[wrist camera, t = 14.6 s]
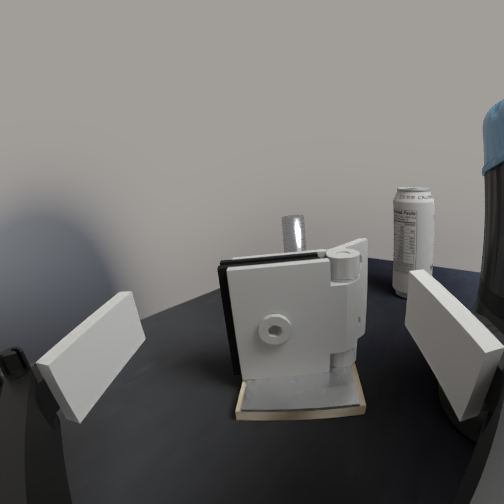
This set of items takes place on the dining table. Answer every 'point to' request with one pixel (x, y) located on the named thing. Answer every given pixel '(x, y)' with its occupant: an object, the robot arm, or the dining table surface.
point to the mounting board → (302, 414)
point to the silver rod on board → (304, 386)
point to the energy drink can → (412, 235)
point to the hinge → (295, 310)
